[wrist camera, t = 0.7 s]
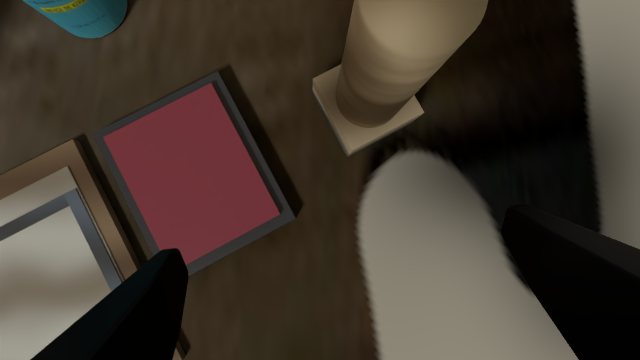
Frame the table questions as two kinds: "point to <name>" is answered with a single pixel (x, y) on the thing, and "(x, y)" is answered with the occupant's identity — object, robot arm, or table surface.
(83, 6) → the tube
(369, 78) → the stamp
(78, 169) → the wooden picture frame
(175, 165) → the ink pad
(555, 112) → the table surface
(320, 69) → the table surface
